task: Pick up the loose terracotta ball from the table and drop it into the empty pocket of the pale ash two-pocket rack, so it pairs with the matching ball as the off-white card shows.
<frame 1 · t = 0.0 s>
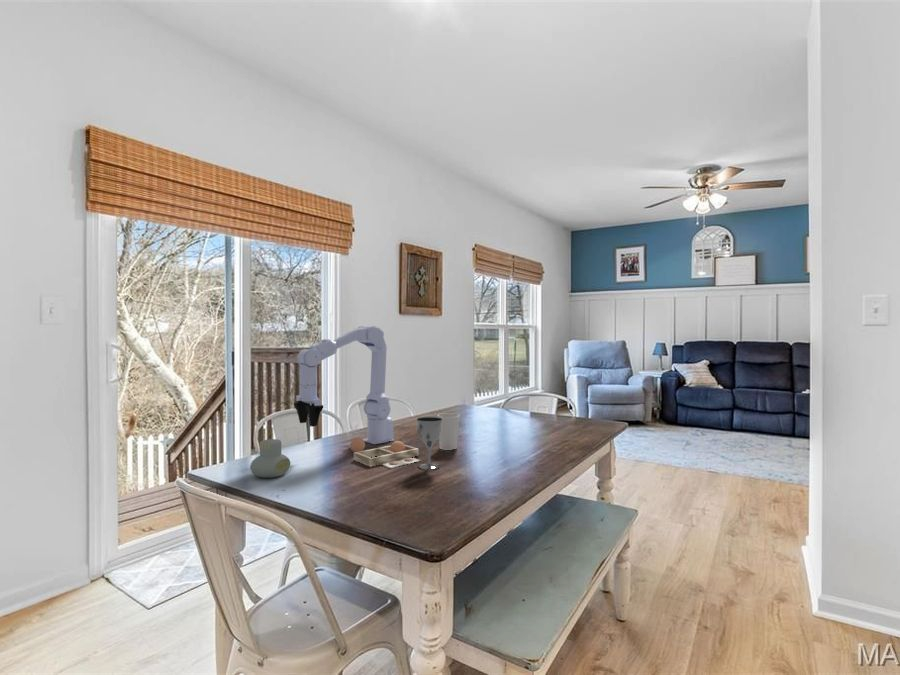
hand: (308, 424, 162), 10 cm above the table, tool pointing down, fingers open, 7 cm apart
wine glass: (429, 467, 148), on the table
air freshener: (270, 476, 138), on the table
cup: (448, 449, 171), on the table
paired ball: (397, 448, 160), point 2 cm above the table
rack: (386, 458, 157), on the table
loose ball: (357, 445, 165), point 2 cm above the table
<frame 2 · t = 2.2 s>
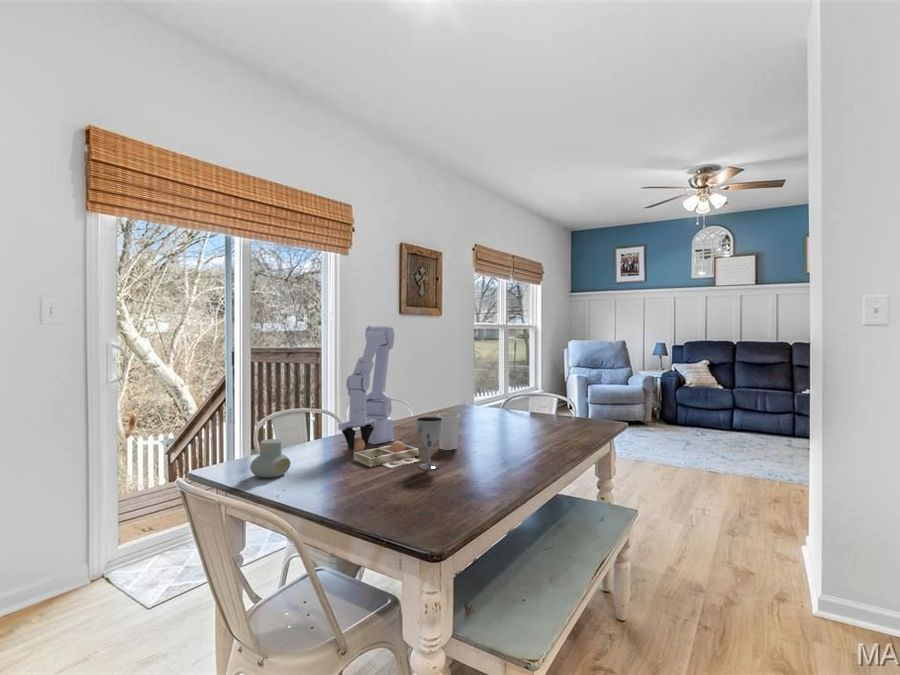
hand: (357, 448, 165), 1 cm above the table, tool pointing down, fingers closed on loose ball, 5 cm apart
loose ball: (357, 445, 165), point 2 cm above the table, touching gripper
everything else where it was.
when the fingers open (4 cm above the table, at t = 6.0 s): loose ball drops 3 cm, point 2 cm above the table.
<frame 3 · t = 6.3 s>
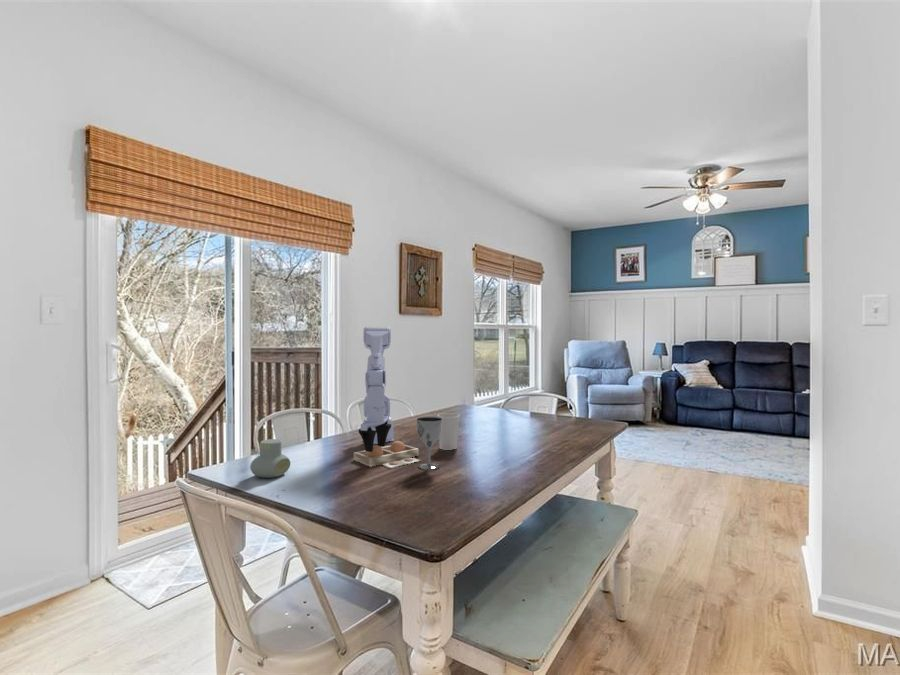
hand: (375, 448, 154), 4 cm above the table, tool pointing down, fingers open, 7 cm apart
loose ball: (375, 453, 154), point 2 cm above the table
everything else where it was.
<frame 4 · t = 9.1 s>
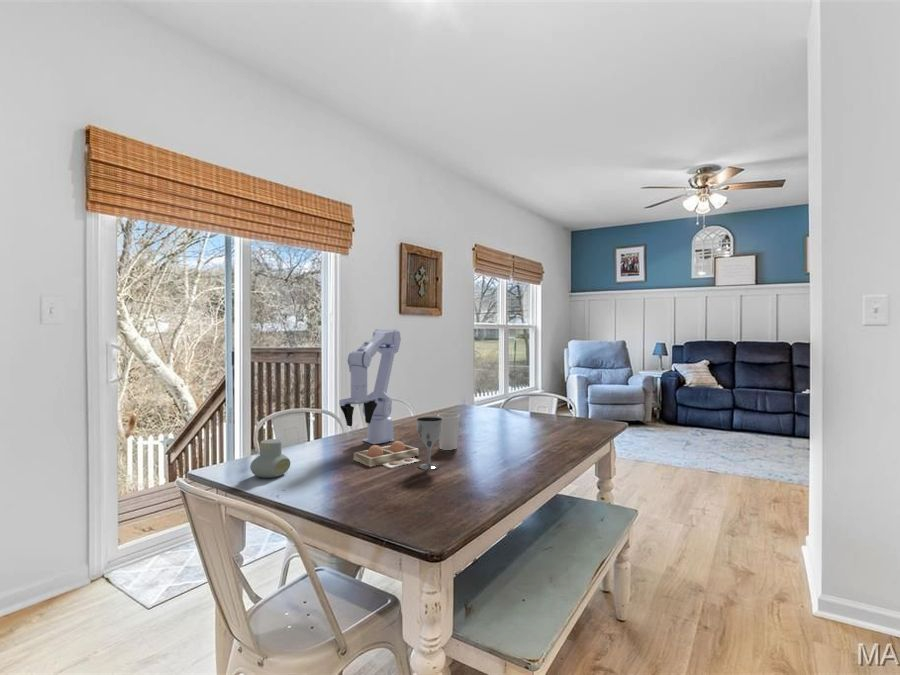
hand: (358, 424, 166), 9 cm above the table, tool pointing down, fingers open, 7 cm apart
nothing on the table moved.
at the end: loose ball 0.0 cm from the target spot on the rack, point 2.5 cm above the rack's base; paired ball 0.0 cm from the target spot on the rack, point 2.5 cm above the rack's base; the gripper is holding nothing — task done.
